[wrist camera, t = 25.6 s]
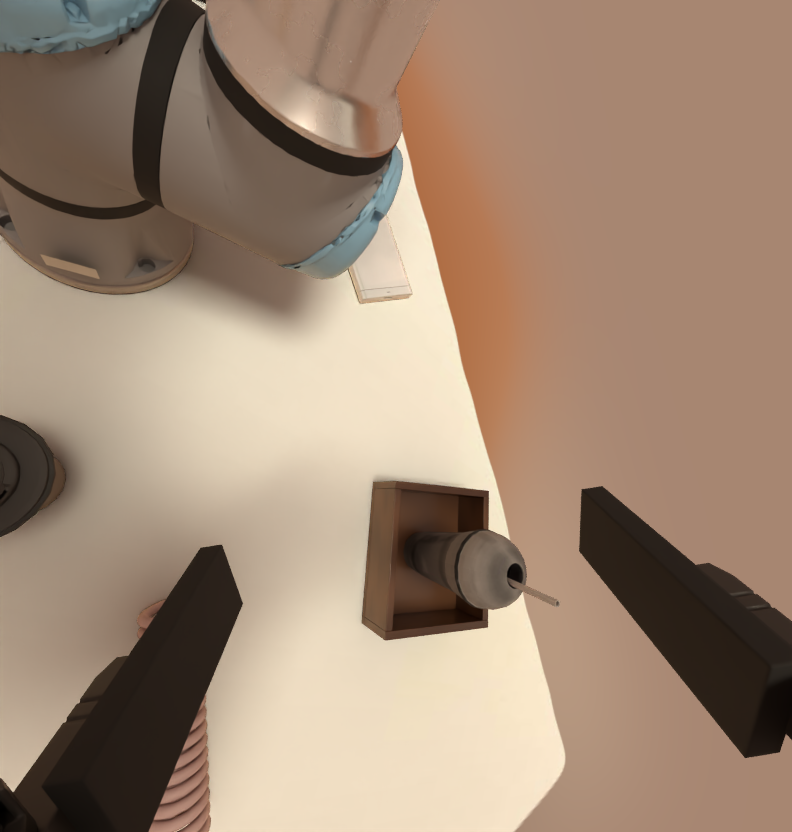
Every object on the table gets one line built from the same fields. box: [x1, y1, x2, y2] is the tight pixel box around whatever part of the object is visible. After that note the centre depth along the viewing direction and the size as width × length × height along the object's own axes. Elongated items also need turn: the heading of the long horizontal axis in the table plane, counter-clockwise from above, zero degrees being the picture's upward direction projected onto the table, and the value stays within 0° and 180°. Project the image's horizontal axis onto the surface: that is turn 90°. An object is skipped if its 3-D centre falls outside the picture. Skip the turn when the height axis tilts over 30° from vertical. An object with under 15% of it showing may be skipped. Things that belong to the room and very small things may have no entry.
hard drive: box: [348, 215, 413, 303], centre depth 49 cm, size 2×8×12 cm
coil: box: [137, 599, 211, 832], centre depth 29 cm, size 5×5×18 cm
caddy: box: [362, 481, 489, 640], centre depth 43 cm, size 16×14×6 cm
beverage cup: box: [404, 529, 560, 610], centre depth 37 cm, size 7×7×20 cm
